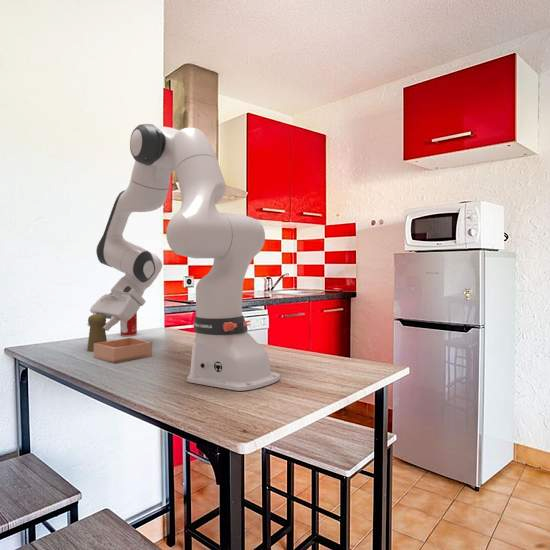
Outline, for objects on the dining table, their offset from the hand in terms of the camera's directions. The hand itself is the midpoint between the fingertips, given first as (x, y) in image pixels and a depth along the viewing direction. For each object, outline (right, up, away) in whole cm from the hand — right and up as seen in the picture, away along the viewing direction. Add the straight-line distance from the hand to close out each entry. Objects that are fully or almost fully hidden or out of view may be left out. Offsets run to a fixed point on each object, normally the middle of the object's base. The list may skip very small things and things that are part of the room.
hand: (97, 327), depth 135 cm
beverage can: (+1, -6, +26) cm, 27 cm away
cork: (0, -7, 0) cm, 7 cm away
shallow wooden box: (+11, -7, -10) cm, 16 cm away
